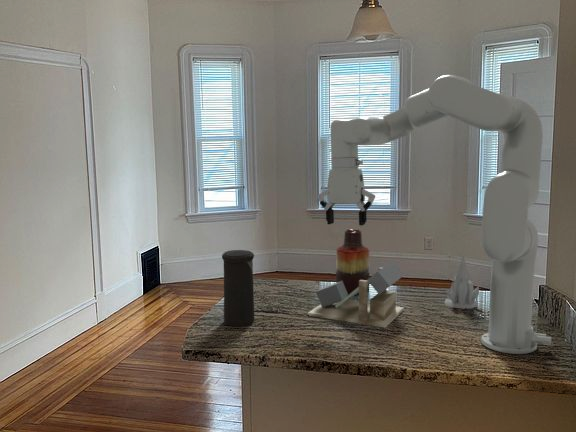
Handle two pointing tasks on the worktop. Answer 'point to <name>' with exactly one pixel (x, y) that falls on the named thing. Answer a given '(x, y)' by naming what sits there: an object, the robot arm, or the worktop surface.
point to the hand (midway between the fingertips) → (346, 224)
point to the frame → (363, 308)
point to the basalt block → (332, 294)
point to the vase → (352, 261)
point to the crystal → (462, 290)
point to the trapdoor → (379, 280)
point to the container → (238, 287)
